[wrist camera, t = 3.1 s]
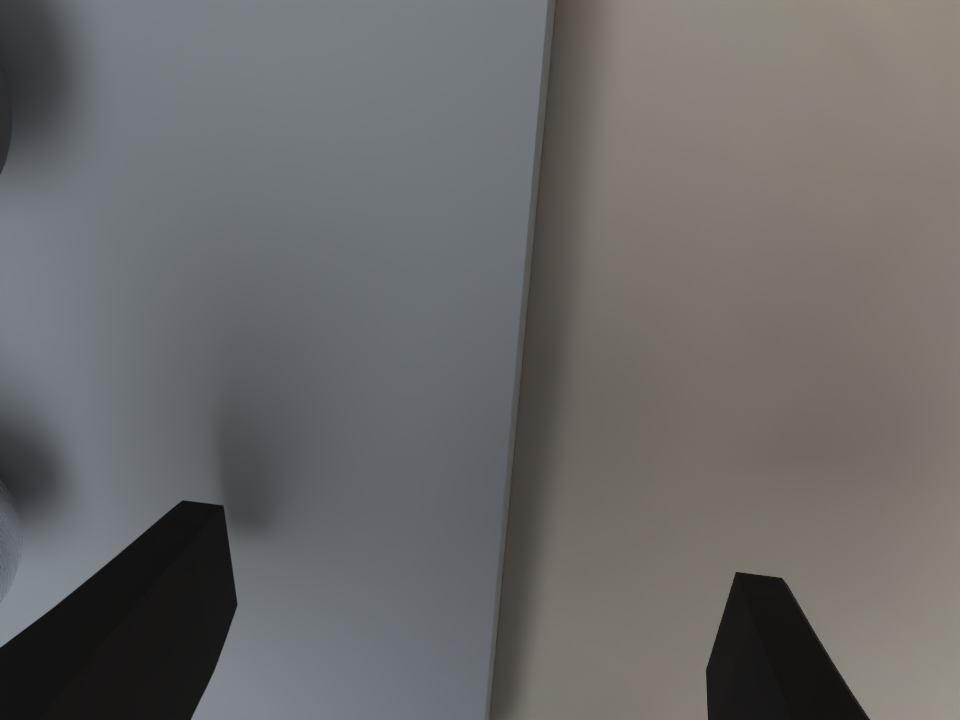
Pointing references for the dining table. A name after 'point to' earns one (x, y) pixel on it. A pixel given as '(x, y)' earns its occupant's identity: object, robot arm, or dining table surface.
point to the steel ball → (9, 540)
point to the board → (277, 323)
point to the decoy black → (4, 119)
